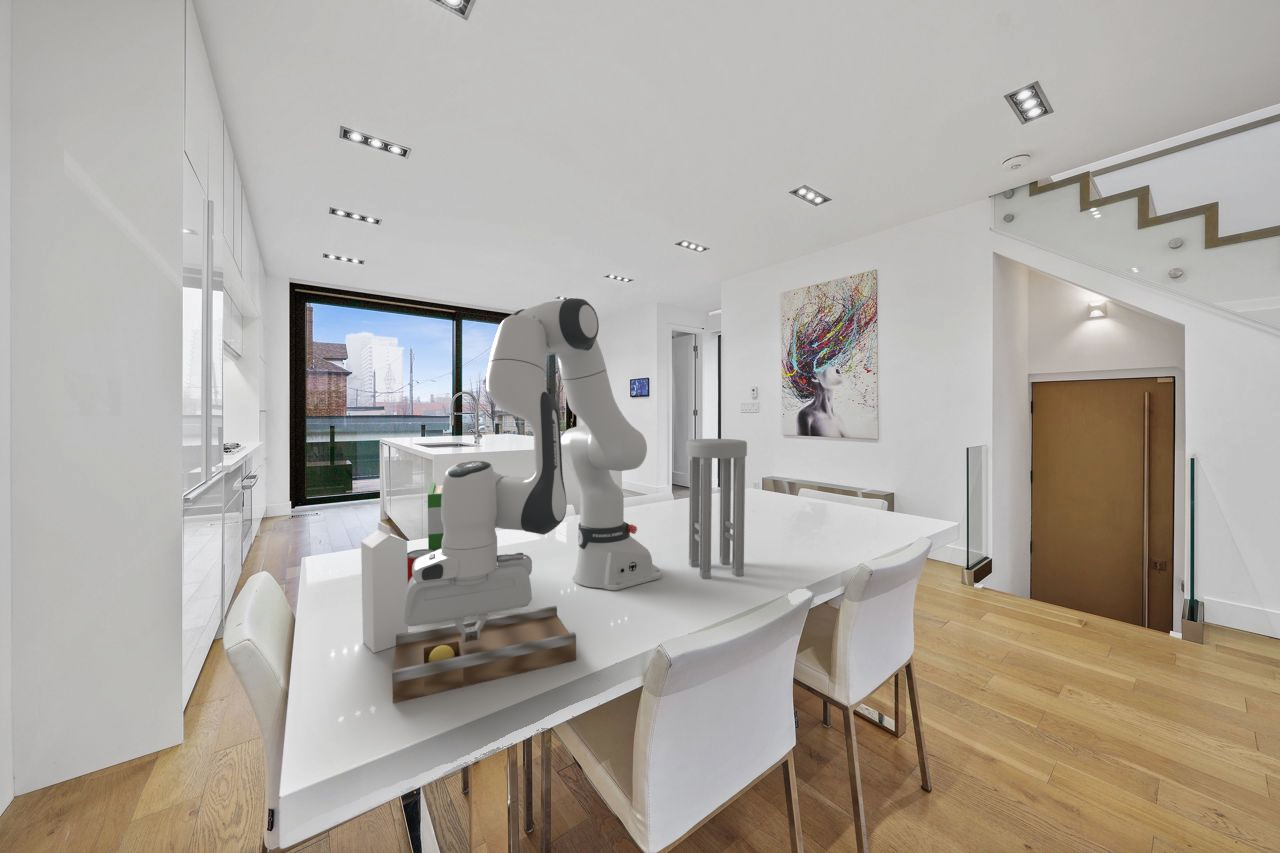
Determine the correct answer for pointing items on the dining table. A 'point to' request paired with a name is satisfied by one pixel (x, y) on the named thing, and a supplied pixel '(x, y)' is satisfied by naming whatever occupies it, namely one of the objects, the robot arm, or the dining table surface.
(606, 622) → the dining table surface
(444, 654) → the ball
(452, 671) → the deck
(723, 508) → the stool
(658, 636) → the dining table surface
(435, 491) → the hardback book
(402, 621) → the milk
